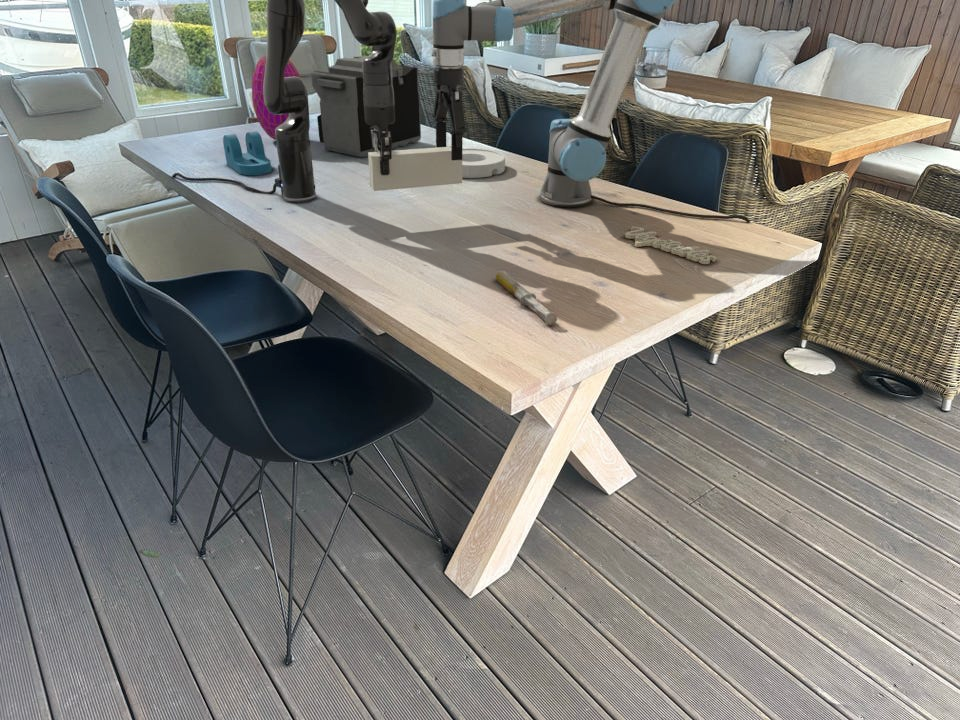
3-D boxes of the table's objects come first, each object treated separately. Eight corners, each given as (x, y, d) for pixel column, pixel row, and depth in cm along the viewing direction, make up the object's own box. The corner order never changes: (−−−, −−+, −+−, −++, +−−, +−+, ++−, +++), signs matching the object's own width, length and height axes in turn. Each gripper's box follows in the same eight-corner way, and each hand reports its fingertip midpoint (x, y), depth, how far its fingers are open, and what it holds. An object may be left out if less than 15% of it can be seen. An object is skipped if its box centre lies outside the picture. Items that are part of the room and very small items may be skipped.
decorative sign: (611, 234, 176) (635, 225, 181) (610, 237, 176) (634, 229, 182) (700, 264, 159) (723, 254, 164) (699, 268, 159) (723, 257, 165)
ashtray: (439, 158, 242) (439, 147, 240) (504, 160, 242) (505, 148, 240) (433, 177, 222) (433, 164, 220) (504, 178, 222) (505, 166, 220)
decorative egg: (293, 132, 276) (283, 50, 261) (319, 140, 264) (310, 56, 249) (249, 139, 265) (236, 54, 250) (273, 148, 253) (261, 60, 238)
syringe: (491, 278, 153) (492, 266, 152) (507, 275, 154) (507, 264, 153) (540, 327, 133) (541, 315, 132) (557, 324, 134) (558, 312, 133)
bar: (457, 178, 188) (457, 146, 183) (462, 183, 184) (462, 149, 180) (370, 186, 180) (367, 152, 176) (373, 191, 177) (371, 156, 172)
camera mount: (227, 164, 233) (221, 132, 227) (257, 160, 238) (252, 129, 233) (244, 176, 220) (239, 143, 215) (276, 172, 225) (271, 139, 220)
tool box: (383, 133, 276) (378, 52, 261) (425, 141, 265) (422, 56, 250) (314, 150, 251) (304, 61, 235) (358, 160, 240) (350, 67, 224)
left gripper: (358, 98, 173) (363, 166, 182) (370, 109, 162) (374, 181, 171) (387, 97, 176) (390, 164, 184) (401, 107, 164) (404, 178, 173)
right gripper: (420, 60, 179) (422, 143, 190) (449, 74, 159) (449, 166, 170) (447, 59, 181) (448, 141, 192) (479, 73, 161) (478, 164, 172)
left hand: (382, 171), depth 177 cm, fingers closed on bar, 4 cm apart
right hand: (448, 153), depth 181 cm, fingers open, 13 cm apart
